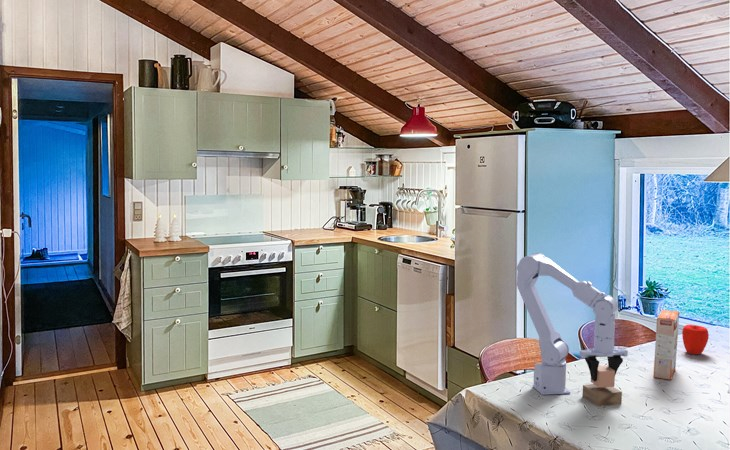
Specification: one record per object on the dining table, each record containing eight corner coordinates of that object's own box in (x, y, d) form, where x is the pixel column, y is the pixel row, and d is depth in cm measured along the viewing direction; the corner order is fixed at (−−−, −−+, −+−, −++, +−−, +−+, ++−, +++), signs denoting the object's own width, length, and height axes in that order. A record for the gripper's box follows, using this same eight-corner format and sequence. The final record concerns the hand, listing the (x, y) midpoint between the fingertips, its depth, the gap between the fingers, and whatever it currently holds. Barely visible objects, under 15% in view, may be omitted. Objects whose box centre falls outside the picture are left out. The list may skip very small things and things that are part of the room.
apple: (708, 352, 240) (709, 324, 239) (706, 358, 232) (708, 329, 231) (682, 348, 244) (683, 321, 243) (679, 354, 237) (681, 326, 236)
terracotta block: (598, 387, 188) (599, 371, 187) (590, 381, 193) (591, 366, 192) (614, 386, 189) (615, 370, 188) (605, 381, 194) (606, 365, 193)
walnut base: (598, 407, 186) (598, 394, 186) (582, 397, 194) (582, 385, 194) (621, 404, 188) (621, 391, 188) (604, 395, 196) (605, 382, 196)
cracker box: (672, 381, 208) (675, 319, 206) (652, 377, 211) (655, 317, 209) (676, 369, 220) (680, 311, 218) (658, 366, 223) (661, 308, 221)
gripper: (588, 340, 184) (586, 385, 186) (634, 339, 186) (631, 383, 188) (576, 334, 191) (575, 377, 193) (621, 332, 193) (619, 375, 195)
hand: (602, 379), depth 191 cm, fingers closed on terracotta block, 5 cm apart
